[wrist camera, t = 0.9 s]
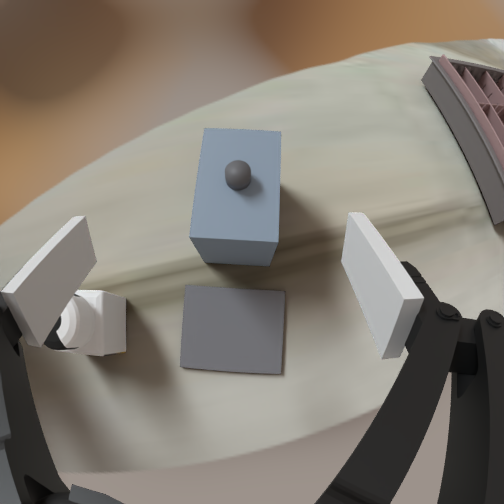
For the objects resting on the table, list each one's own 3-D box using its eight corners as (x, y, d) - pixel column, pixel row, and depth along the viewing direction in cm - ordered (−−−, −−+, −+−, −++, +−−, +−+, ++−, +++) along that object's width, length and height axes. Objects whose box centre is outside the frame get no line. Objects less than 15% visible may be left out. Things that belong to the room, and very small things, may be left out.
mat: (180, 366, 35) (180, 366, 35) (186, 285, 38) (185, 284, 37) (280, 373, 35) (280, 373, 35) (284, 291, 38) (285, 291, 37)
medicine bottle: (80, 348, 35) (26, 351, 24) (80, 296, 37) (27, 281, 25) (127, 352, 36) (81, 360, 24) (127, 297, 37) (82, 283, 26)
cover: (204, 262, 39) (186, 231, 26) (213, 175, 41) (202, 119, 29) (269, 266, 39) (280, 237, 26) (272, 178, 42) (282, 122, 29)
